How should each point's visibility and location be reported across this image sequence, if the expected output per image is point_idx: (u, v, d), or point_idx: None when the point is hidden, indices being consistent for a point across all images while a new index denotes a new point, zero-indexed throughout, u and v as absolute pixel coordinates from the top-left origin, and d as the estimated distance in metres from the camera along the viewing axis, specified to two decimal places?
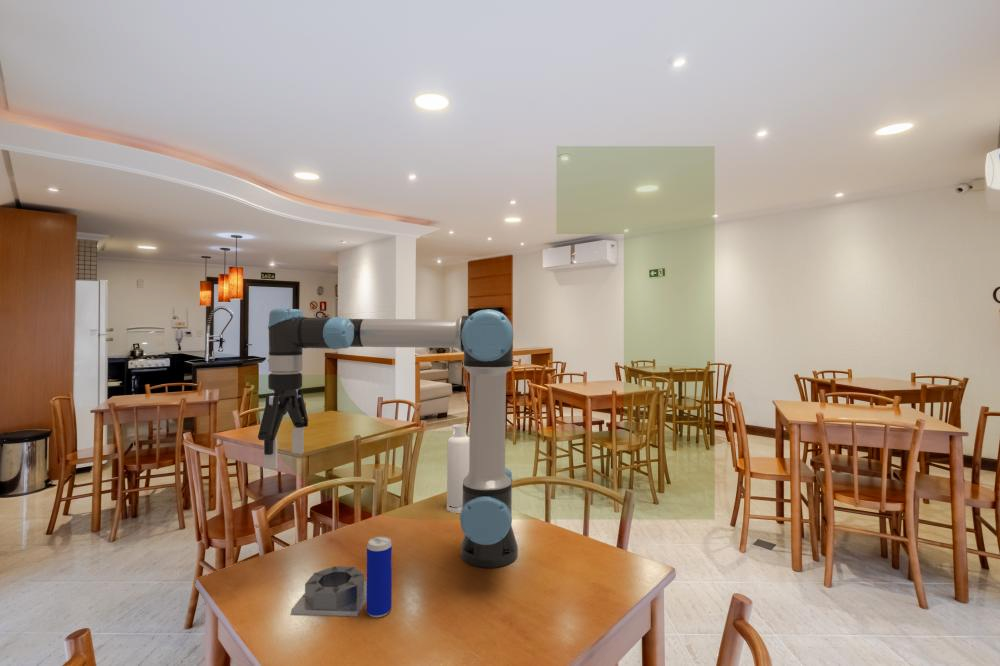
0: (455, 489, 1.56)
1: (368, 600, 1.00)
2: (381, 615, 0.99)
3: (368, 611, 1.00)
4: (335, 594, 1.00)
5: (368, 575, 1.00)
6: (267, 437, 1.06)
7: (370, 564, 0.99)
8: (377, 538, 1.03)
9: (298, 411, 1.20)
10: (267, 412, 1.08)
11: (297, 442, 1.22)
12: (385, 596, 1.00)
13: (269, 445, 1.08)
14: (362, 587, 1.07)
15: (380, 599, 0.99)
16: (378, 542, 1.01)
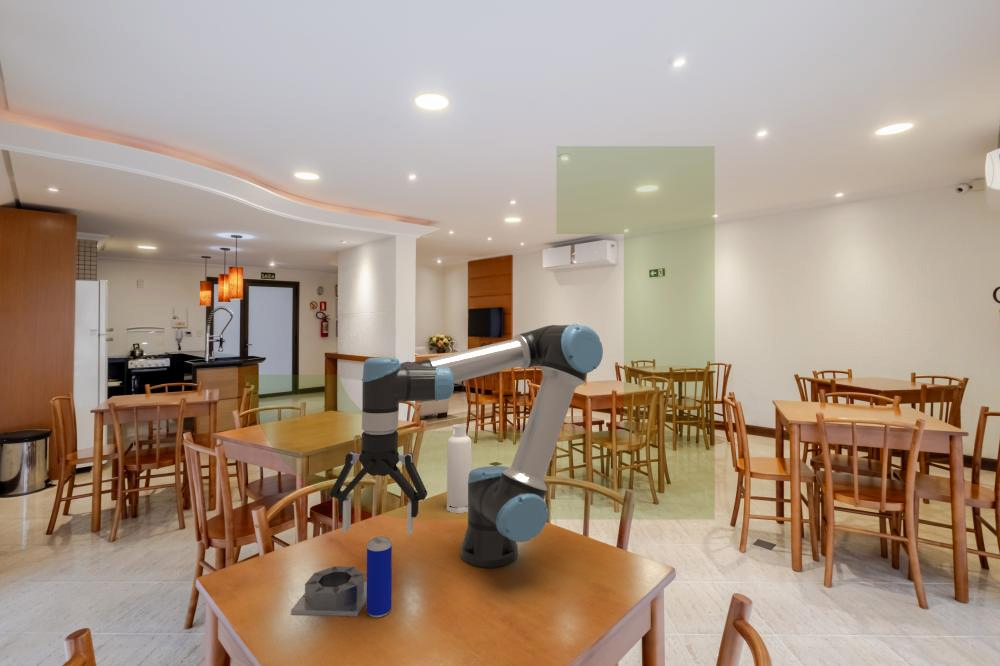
0: (455, 489, 1.56)
1: (368, 600, 1.00)
2: (381, 615, 0.99)
3: (368, 611, 1.00)
4: (335, 594, 1.00)
5: (368, 575, 1.00)
6: None
7: (370, 564, 0.99)
8: (377, 538, 1.03)
9: (398, 481, 1.00)
10: None
11: None
12: (385, 596, 1.00)
13: None
14: (362, 587, 1.07)
15: (380, 599, 0.99)
16: (378, 542, 1.01)
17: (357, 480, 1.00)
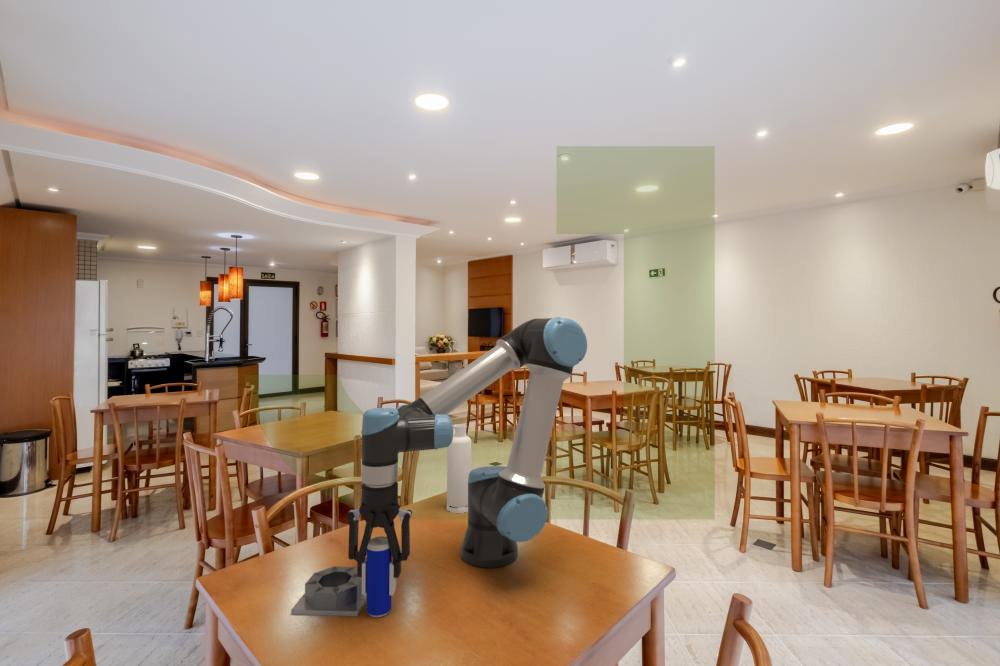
0: (455, 489, 1.56)
1: (368, 600, 1.00)
2: (381, 615, 0.99)
3: (368, 611, 1.00)
4: (335, 594, 1.00)
5: (368, 575, 1.00)
6: None
7: (370, 564, 0.99)
8: (377, 538, 1.03)
9: (389, 537, 1.00)
10: None
11: None
12: (385, 596, 1.00)
13: None
14: None
15: (380, 599, 0.99)
16: (378, 542, 1.01)
17: (367, 537, 1.00)
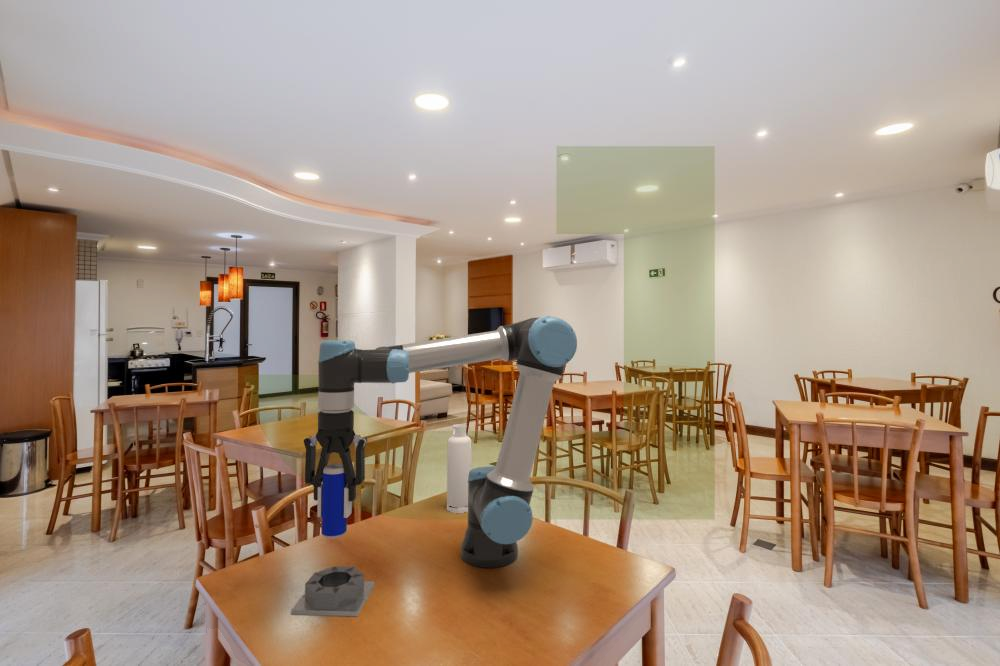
0: (455, 489, 1.56)
1: (323, 522, 1.04)
2: (335, 536, 1.03)
3: (323, 532, 1.04)
4: (335, 594, 1.00)
5: (323, 498, 1.04)
6: None
7: (325, 487, 1.03)
8: (333, 465, 1.07)
9: (344, 462, 1.04)
10: None
11: None
12: (339, 518, 1.04)
13: None
14: (362, 587, 1.07)
15: (335, 521, 1.03)
16: (334, 467, 1.06)
17: (322, 461, 1.05)
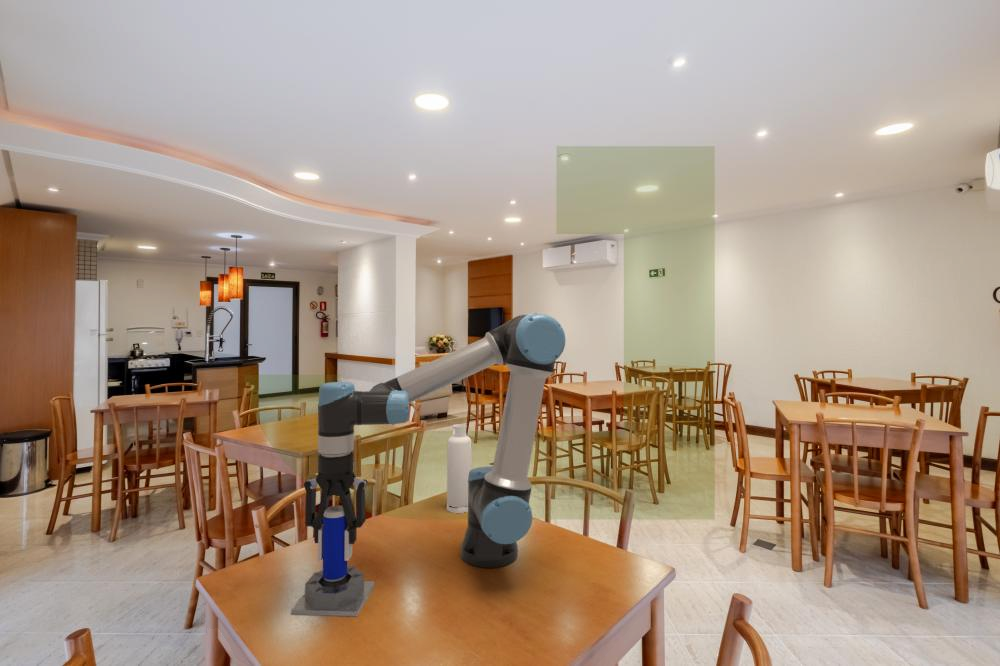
0: (455, 489, 1.56)
1: (324, 565, 1.04)
2: (336, 579, 1.04)
3: (324, 576, 1.04)
4: (335, 594, 1.00)
5: (324, 541, 1.04)
6: None
7: (325, 530, 1.04)
8: (334, 507, 1.07)
9: (345, 505, 1.04)
10: None
11: None
12: (340, 562, 1.04)
13: None
14: (362, 587, 1.07)
15: (335, 564, 1.03)
16: (334, 510, 1.06)
17: (323, 504, 1.05)
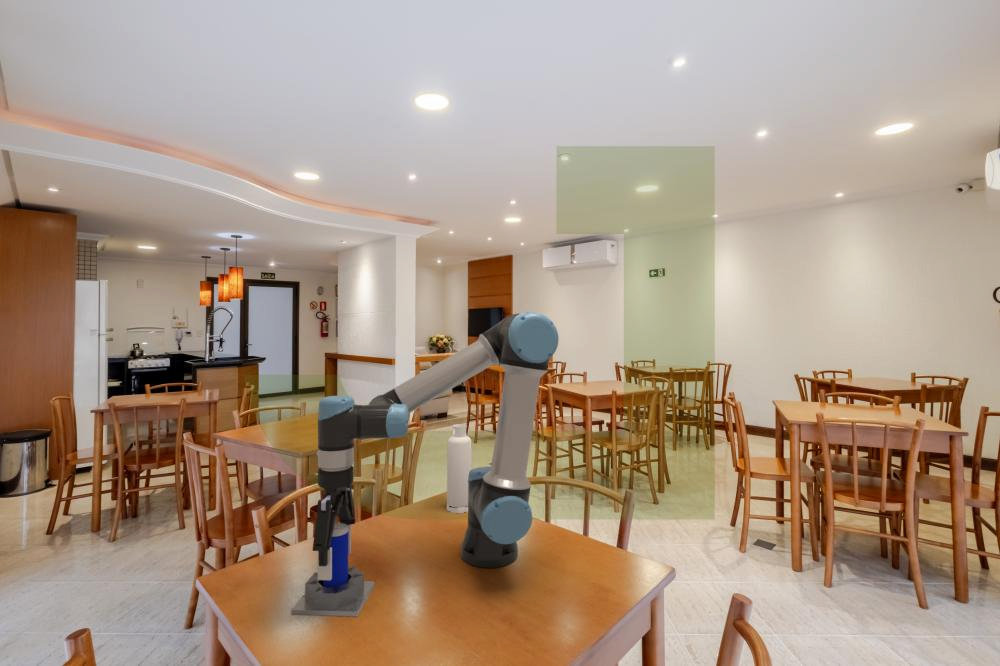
0: (455, 489, 1.56)
1: (341, 583, 1.04)
2: None
3: None
4: (335, 594, 1.00)
5: (341, 560, 1.04)
6: (323, 549, 0.97)
7: (343, 547, 1.04)
8: None
9: (347, 507, 1.10)
10: (320, 519, 0.98)
11: None
12: None
13: (324, 556, 0.99)
14: (362, 587, 1.07)
15: None
16: (336, 528, 1.06)
17: (334, 521, 1.02)
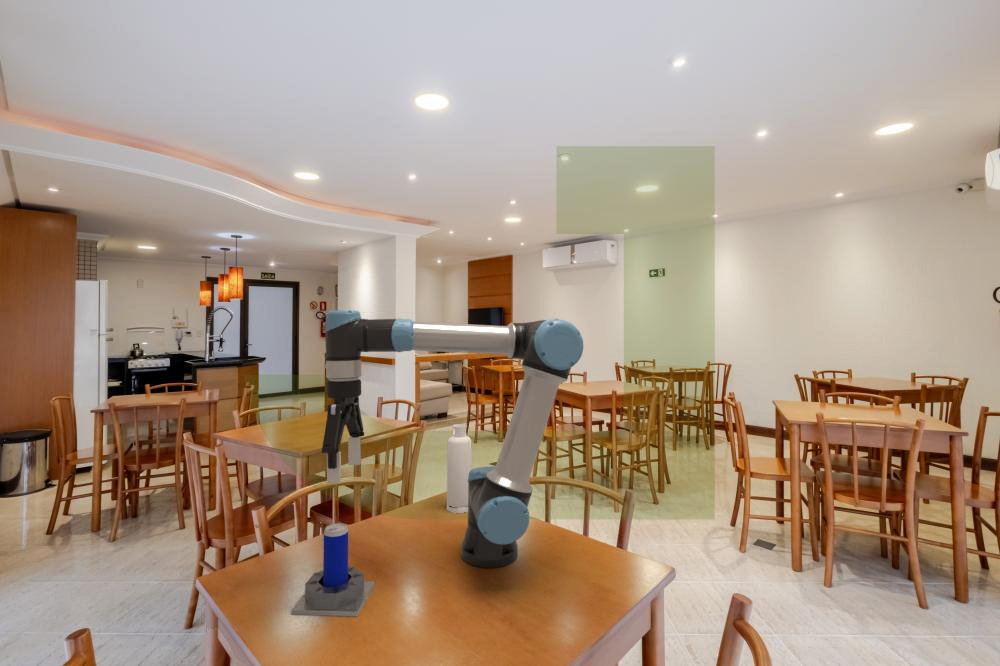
0: (455, 489, 1.56)
1: (341, 583, 1.04)
2: None
3: None
4: (335, 594, 1.00)
5: (341, 560, 1.04)
6: (332, 450, 0.98)
7: (343, 547, 1.04)
8: (328, 529, 1.05)
9: (355, 420, 1.12)
10: (329, 422, 1.00)
11: (354, 453, 1.14)
12: None
13: (333, 458, 0.99)
14: (362, 587, 1.07)
15: None
16: (336, 528, 1.06)
17: (343, 428, 1.03)
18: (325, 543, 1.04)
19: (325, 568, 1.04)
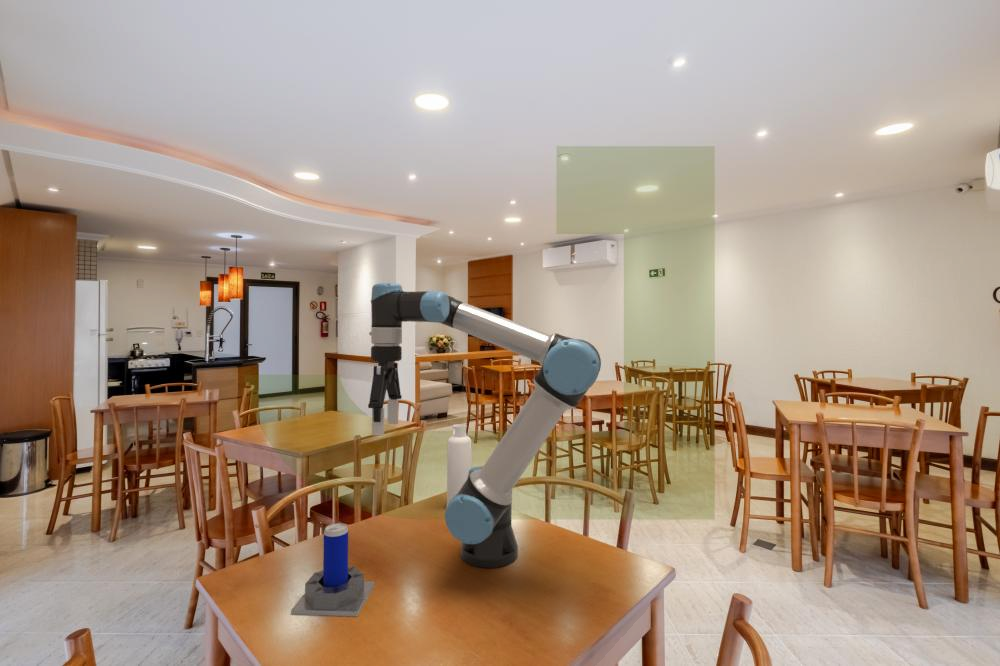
0: (455, 489, 1.56)
1: (341, 583, 1.04)
2: None
3: None
4: (335, 594, 1.00)
5: (341, 560, 1.04)
6: (378, 404, 1.10)
7: (343, 547, 1.04)
8: (328, 529, 1.05)
9: (395, 383, 1.25)
10: (375, 381, 1.13)
11: (392, 413, 1.27)
12: None
13: (378, 413, 1.12)
14: (362, 587, 1.07)
15: None
16: (336, 528, 1.06)
17: (386, 388, 1.16)
18: (325, 543, 1.04)
19: (325, 568, 1.04)
